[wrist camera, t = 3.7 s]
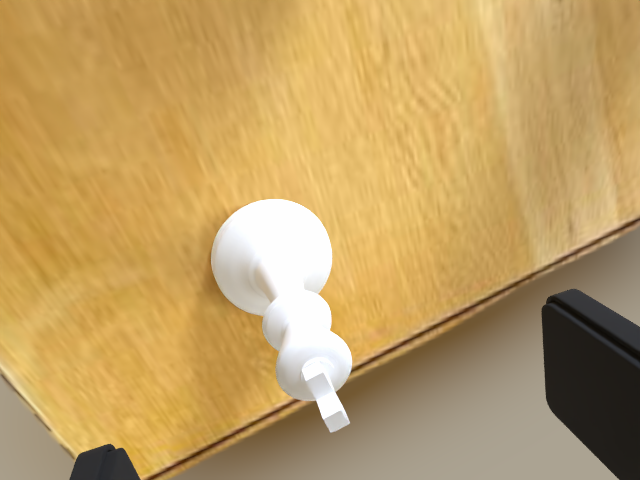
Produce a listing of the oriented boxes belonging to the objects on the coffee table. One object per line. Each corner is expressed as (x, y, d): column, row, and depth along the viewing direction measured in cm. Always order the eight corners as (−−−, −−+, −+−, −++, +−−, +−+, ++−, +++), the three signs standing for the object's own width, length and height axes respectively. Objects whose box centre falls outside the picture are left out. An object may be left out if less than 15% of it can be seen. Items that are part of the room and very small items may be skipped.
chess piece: (245, 329, 20) (281, 541, 11) (188, 233, 18) (175, 394, 9) (347, 278, 21) (464, 443, 11) (301, 178, 19) (399, 279, 9)
